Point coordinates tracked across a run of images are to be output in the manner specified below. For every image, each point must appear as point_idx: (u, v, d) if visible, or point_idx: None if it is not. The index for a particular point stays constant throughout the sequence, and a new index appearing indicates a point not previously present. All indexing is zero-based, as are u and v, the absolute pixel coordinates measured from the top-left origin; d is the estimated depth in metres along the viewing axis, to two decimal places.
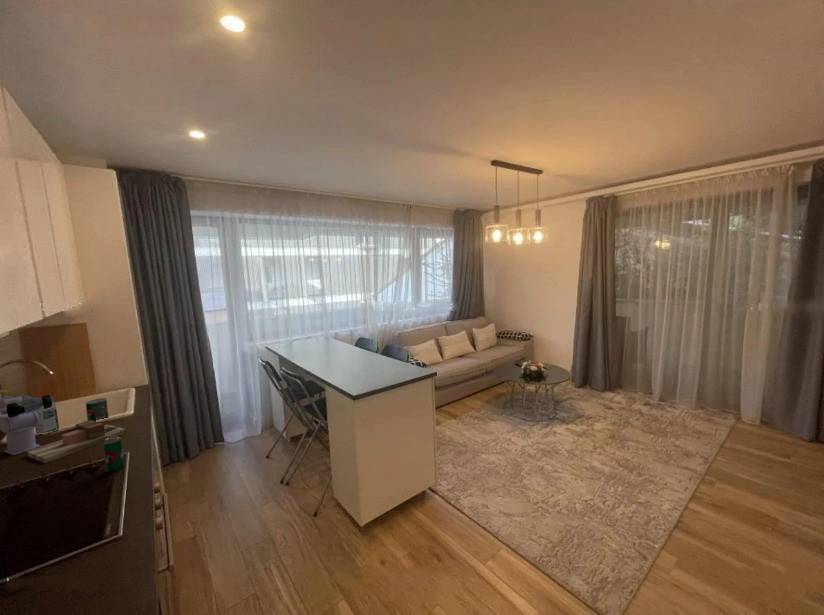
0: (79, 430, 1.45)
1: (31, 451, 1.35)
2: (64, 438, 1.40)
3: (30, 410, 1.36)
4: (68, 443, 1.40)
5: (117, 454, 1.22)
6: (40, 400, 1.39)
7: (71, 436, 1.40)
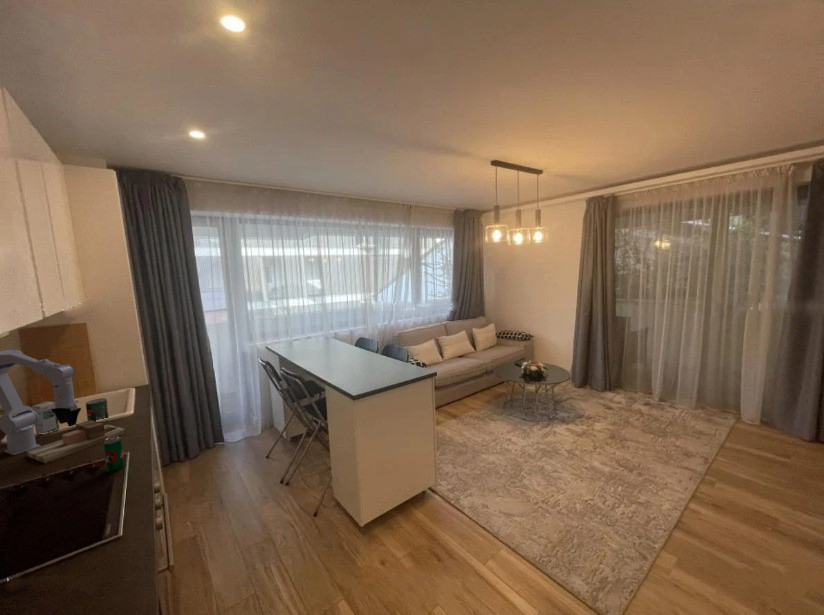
0: (79, 430, 1.45)
1: (31, 451, 1.35)
2: (64, 438, 1.40)
3: None
4: (68, 443, 1.40)
5: (117, 454, 1.22)
6: None
7: (71, 436, 1.40)
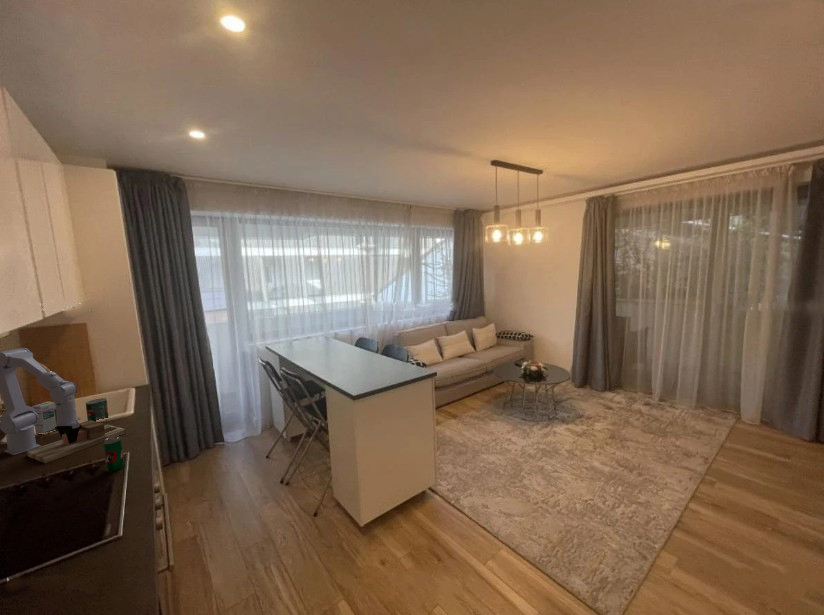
0: (79, 430, 1.45)
1: (31, 451, 1.35)
2: (64, 438, 1.40)
3: None
4: (68, 443, 1.40)
5: (117, 454, 1.22)
6: None
7: None
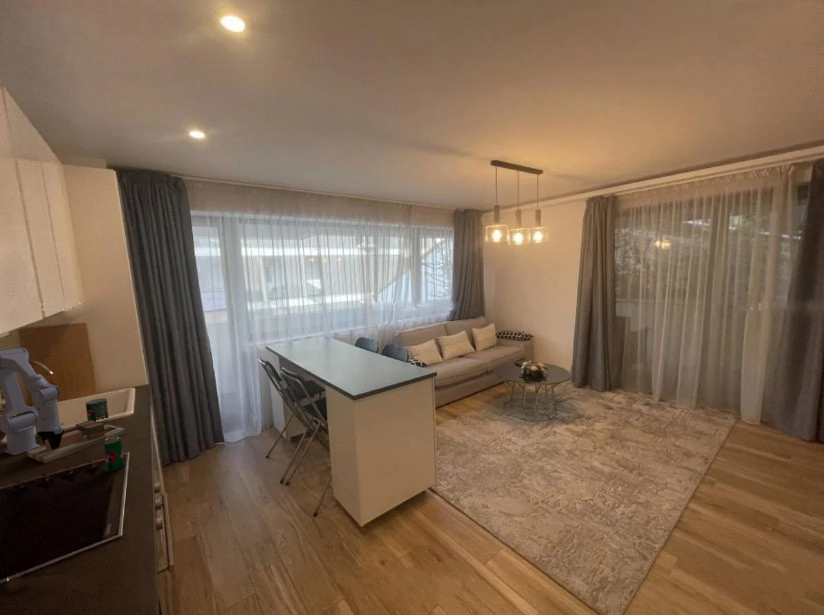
0: (63, 435, 1.40)
1: (31, 451, 1.35)
2: (47, 443, 1.35)
3: None
4: (51, 449, 1.35)
5: (117, 454, 1.22)
6: None
7: None
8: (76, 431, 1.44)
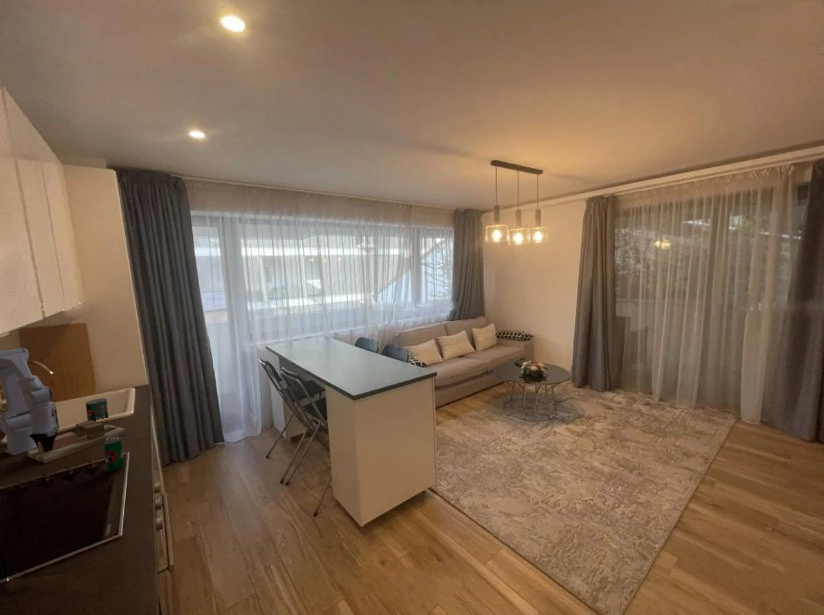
0: (57, 437, 1.38)
1: (31, 451, 1.35)
2: (40, 446, 1.33)
3: None
4: None
5: (117, 454, 1.22)
6: None
7: None
8: (69, 433, 1.42)
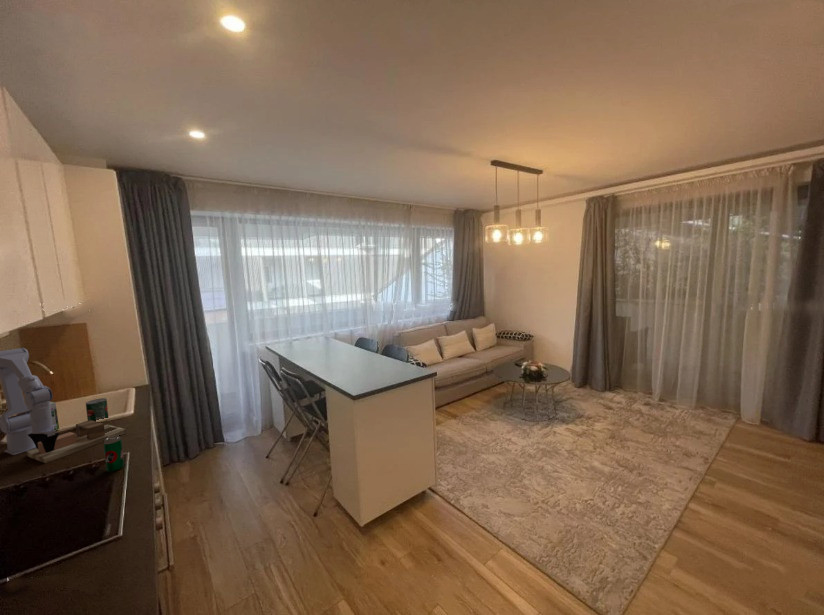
0: (57, 437, 1.38)
1: (31, 451, 1.35)
2: (40, 446, 1.33)
3: None
4: (44, 451, 1.33)
5: (117, 454, 1.22)
6: None
7: None
8: (69, 433, 1.42)
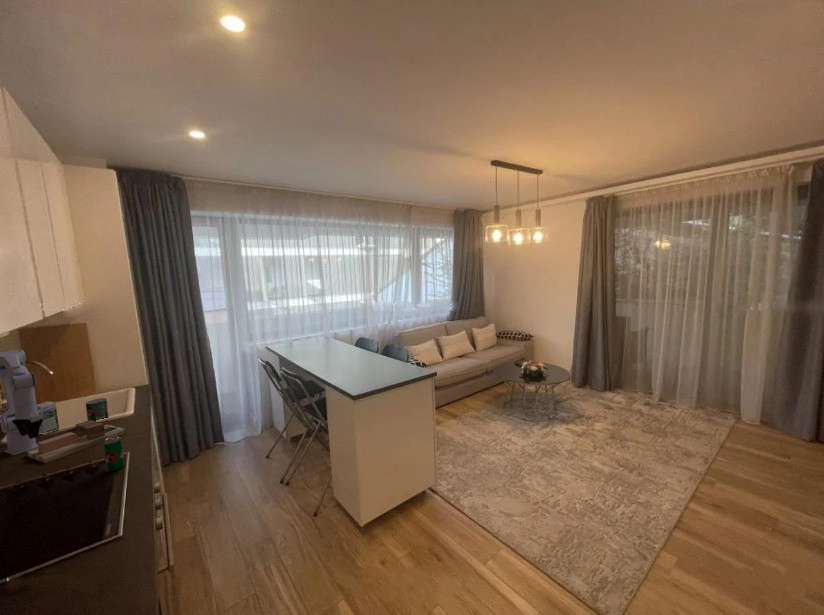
0: (57, 437, 1.38)
1: (31, 451, 1.35)
2: (40, 446, 1.33)
3: None
4: (44, 451, 1.33)
5: (117, 454, 1.22)
6: None
7: (47, 444, 1.34)
8: (69, 433, 1.42)
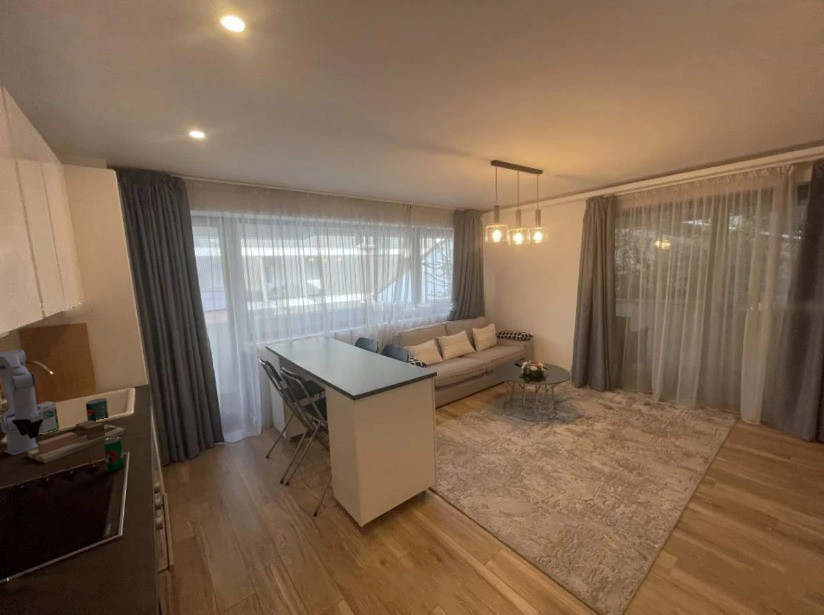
0: (57, 437, 1.38)
1: (31, 451, 1.35)
2: (40, 446, 1.33)
3: None
4: (44, 451, 1.33)
5: (117, 454, 1.22)
6: None
7: (47, 444, 1.34)
8: (69, 433, 1.42)
